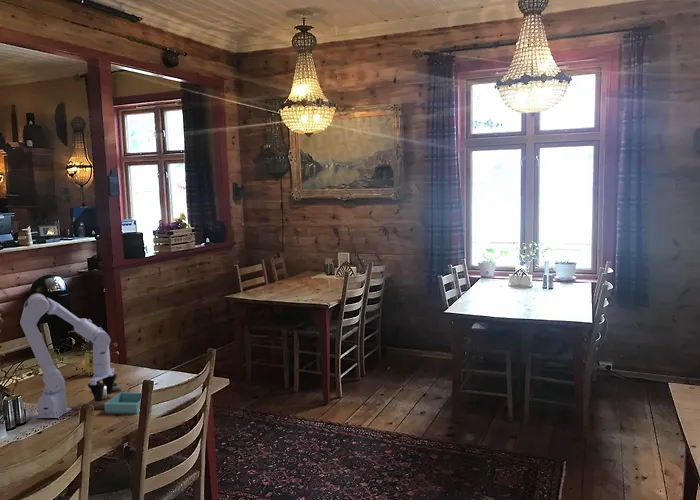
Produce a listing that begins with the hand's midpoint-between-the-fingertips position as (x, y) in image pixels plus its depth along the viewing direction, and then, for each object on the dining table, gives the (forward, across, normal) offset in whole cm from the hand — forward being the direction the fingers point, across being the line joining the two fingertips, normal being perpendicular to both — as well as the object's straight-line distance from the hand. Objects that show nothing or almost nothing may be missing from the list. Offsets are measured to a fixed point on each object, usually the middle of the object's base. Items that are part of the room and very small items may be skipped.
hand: (103, 397), depth 215 cm
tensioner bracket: (+3, +4, 0) cm, 5 cm away
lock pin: (+3, 0, 0) cm, 3 cm away
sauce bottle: (+3, +35, +23) cm, 42 cm away
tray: (+3, -3, -11) cm, 12 cm away
